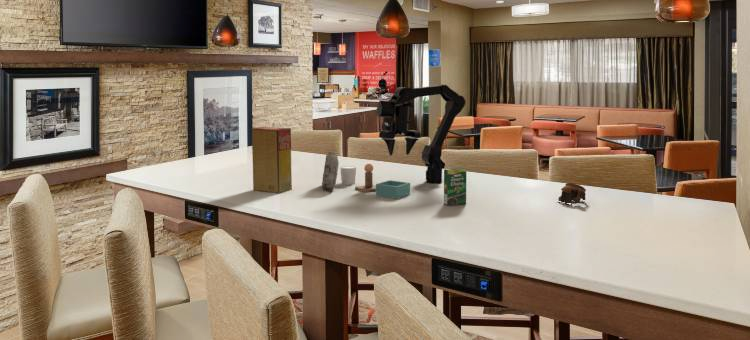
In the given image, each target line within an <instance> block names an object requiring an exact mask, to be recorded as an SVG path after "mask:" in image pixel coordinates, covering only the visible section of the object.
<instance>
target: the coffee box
mask: <svg viewBox="0 0 750 340" xmlns="http://www.w3.org/2000/svg"><path fill="white" fill-rule="evenodd" d="M443 205H445V206H446V207H448V206H450V207H451V206H457V205H467V168H465V167H456V168H444V169H443Z"/></svg>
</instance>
